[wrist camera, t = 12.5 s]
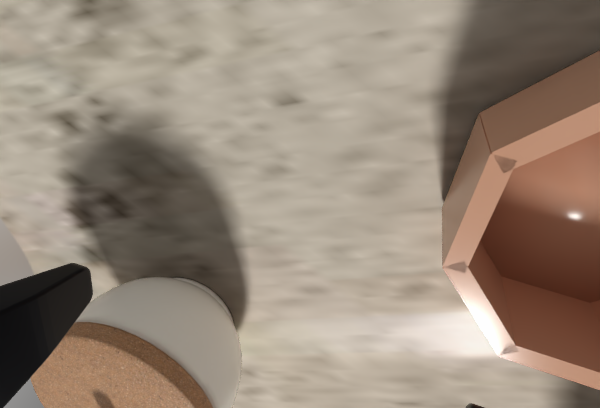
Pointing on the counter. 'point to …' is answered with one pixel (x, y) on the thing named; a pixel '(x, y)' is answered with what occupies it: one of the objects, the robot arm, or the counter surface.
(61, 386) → the lidded jar
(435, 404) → the counter surface
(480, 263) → the bowl
